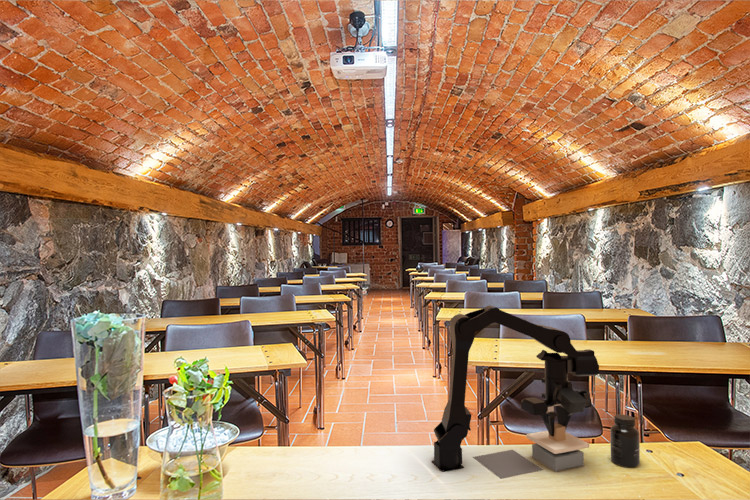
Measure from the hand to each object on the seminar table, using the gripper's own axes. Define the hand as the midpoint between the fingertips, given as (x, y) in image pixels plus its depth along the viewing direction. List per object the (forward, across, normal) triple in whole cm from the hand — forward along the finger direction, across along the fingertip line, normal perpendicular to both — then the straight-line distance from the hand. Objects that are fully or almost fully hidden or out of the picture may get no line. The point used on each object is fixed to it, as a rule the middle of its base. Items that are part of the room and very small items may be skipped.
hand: (556, 435), depth 123 cm
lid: (+2, 0, 0) cm, 2 cm away
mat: (+8, -13, +4) cm, 15 cm away
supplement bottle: (+8, +17, -6) cm, 20 cm away
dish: (+8, 0, 0) cm, 8 cm away
